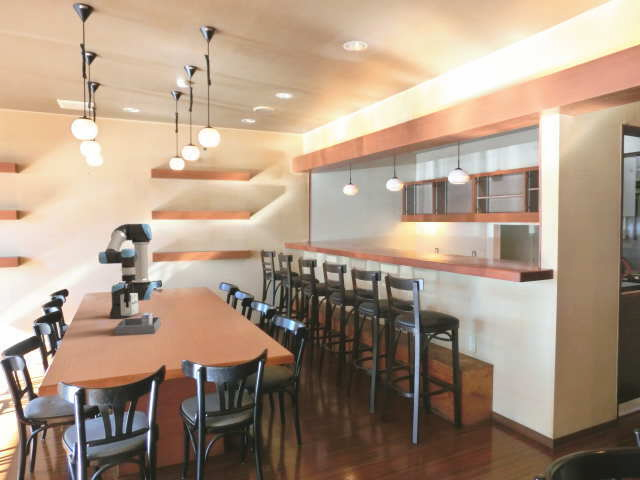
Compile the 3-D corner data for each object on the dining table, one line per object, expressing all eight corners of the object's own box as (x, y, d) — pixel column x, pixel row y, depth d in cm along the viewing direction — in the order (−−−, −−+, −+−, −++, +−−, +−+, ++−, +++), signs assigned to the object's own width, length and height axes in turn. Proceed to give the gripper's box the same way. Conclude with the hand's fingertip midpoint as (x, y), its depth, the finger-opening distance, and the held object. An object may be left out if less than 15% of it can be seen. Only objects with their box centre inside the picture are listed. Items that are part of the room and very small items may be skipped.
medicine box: (145, 326, 276) (145, 312, 276) (152, 326, 277) (152, 312, 276) (141, 329, 268) (141, 315, 268) (149, 329, 269) (148, 315, 268)
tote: (124, 326, 280) (123, 318, 280) (160, 324, 284) (160, 317, 284) (115, 335, 259) (114, 327, 258) (154, 333, 263) (154, 325, 263)
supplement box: (131, 315, 266) (130, 295, 265) (120, 315, 267) (119, 294, 266) (138, 313, 273) (138, 292, 272) (128, 312, 274) (127, 292, 274)
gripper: (126, 272, 279) (127, 308, 280) (117, 276, 258) (118, 315, 258) (138, 272, 280) (139, 307, 281) (131, 276, 259) (132, 314, 260)
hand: (129, 311), depth 270 cm, fingers closed on supplement box, 9 cm apart
